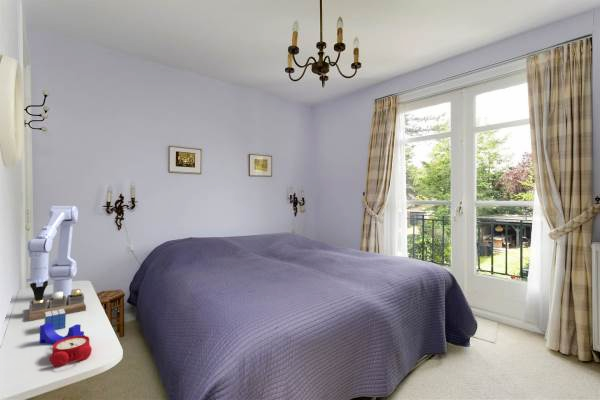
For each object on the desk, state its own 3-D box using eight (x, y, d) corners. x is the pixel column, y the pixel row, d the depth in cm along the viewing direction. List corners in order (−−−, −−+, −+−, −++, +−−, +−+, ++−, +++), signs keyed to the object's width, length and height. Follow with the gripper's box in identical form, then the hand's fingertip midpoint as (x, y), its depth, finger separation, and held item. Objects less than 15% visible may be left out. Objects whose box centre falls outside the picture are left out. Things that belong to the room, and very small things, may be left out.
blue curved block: (83, 340, 104) (84, 322, 104) (72, 346, 99) (73, 328, 99) (52, 337, 105) (52, 320, 105) (39, 343, 100) (39, 325, 100)
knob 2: (70, 296, 134) (70, 289, 133) (79, 295, 136) (80, 288, 136) (71, 298, 131) (71, 291, 131) (80, 297, 133) (81, 290, 133)
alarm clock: (90, 331, 102) (94, 338, 91) (90, 351, 101) (94, 360, 89) (50, 340, 95) (49, 348, 84) (49, 361, 94) (48, 372, 83)
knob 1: (33, 306, 125) (33, 299, 125) (43, 305, 127) (43, 298, 127) (33, 309, 123) (33, 301, 123) (44, 307, 125) (44, 300, 125)
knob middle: (52, 299, 129) (52, 292, 129) (62, 297, 132) (62, 291, 132) (52, 301, 127) (53, 294, 127) (63, 299, 129) (63, 292, 129)
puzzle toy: (63, 323, 116) (64, 308, 116) (65, 328, 112) (65, 312, 112) (44, 327, 112) (44, 312, 112) (45, 332, 108) (45, 316, 108)
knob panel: (29, 309, 129) (29, 297, 129) (80, 300, 141) (81, 289, 141) (29, 321, 117) (29, 308, 117) (85, 310, 129) (86, 298, 129)
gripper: (26, 265, 128) (25, 297, 128) (26, 272, 117) (25, 307, 117) (48, 263, 132) (47, 294, 132) (49, 269, 122) (49, 303, 122)
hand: (38, 300), depth 125 cm, fingers closed, pressing on knob 1
